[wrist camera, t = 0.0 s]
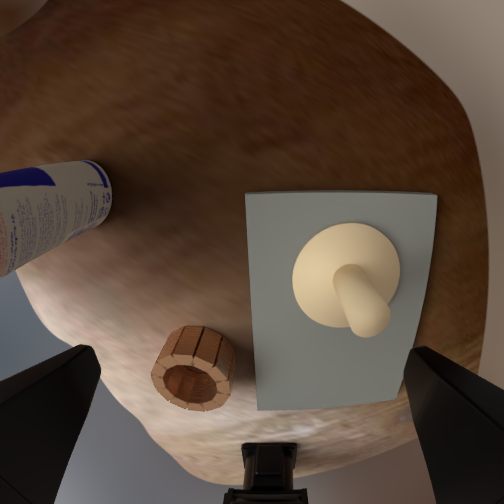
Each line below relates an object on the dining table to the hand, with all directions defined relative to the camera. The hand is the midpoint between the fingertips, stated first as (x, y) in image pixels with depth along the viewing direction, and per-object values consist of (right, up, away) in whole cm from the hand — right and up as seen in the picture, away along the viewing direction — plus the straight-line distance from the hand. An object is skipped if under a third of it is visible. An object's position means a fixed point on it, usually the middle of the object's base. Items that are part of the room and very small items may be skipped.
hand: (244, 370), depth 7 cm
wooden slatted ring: (-4, -6, +18) cm, 20 cm away
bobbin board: (+7, -2, +16) cm, 17 cm away
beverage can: (-13, +8, +14) cm, 21 cm away
